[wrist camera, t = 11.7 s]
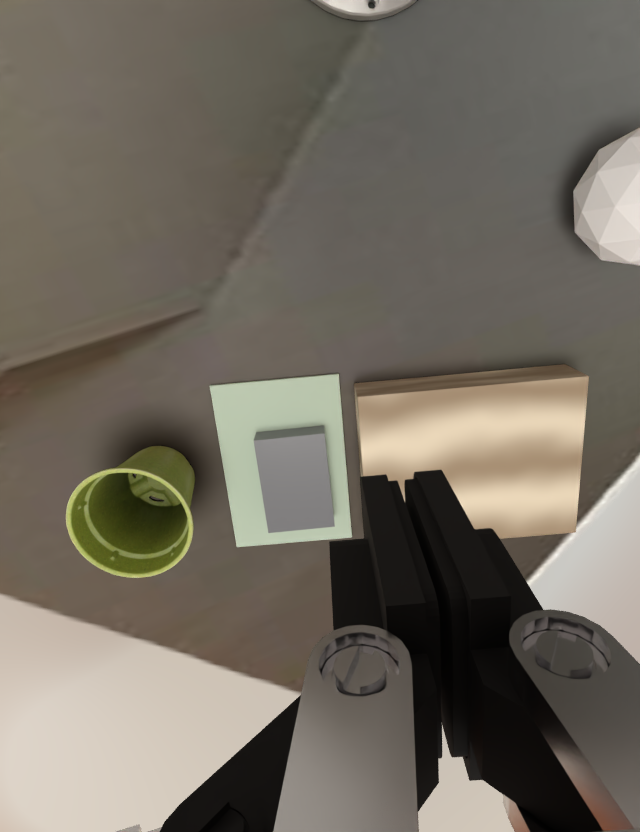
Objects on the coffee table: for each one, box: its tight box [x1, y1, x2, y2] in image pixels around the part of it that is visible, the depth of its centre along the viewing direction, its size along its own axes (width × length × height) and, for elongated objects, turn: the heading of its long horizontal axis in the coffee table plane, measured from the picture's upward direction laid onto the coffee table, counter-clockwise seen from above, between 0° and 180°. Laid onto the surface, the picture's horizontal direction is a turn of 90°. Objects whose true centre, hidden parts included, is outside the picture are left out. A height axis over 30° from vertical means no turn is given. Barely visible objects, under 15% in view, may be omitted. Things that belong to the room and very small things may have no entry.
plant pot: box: [66, 446, 195, 578], centre depth 42 cm, size 9×9×9 cm
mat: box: [210, 374, 352, 547], centre depth 46 cm, size 16×11×1 cm
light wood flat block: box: [354, 364, 589, 539], centre depth 44 cm, size 14×18×4 cm
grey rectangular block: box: [254, 425, 335, 533], centre depth 45 cm, size 9×6×2 cm, turn 6°
